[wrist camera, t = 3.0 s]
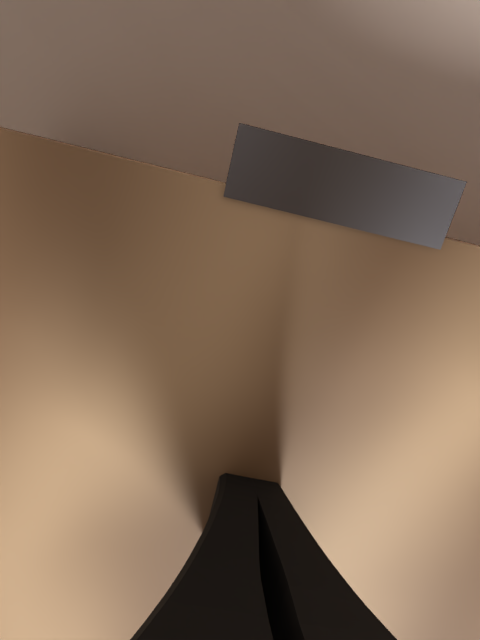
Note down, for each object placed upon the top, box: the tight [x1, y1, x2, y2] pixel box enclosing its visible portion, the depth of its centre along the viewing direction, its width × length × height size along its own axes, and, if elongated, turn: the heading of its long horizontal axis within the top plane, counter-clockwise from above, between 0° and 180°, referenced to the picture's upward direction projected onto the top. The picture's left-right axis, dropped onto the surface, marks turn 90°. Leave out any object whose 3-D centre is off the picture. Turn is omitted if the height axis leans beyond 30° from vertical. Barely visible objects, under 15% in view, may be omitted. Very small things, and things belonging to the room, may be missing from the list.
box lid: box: [0, 123, 480, 640], centre depth 10 cm, size 17×15×1 cm
